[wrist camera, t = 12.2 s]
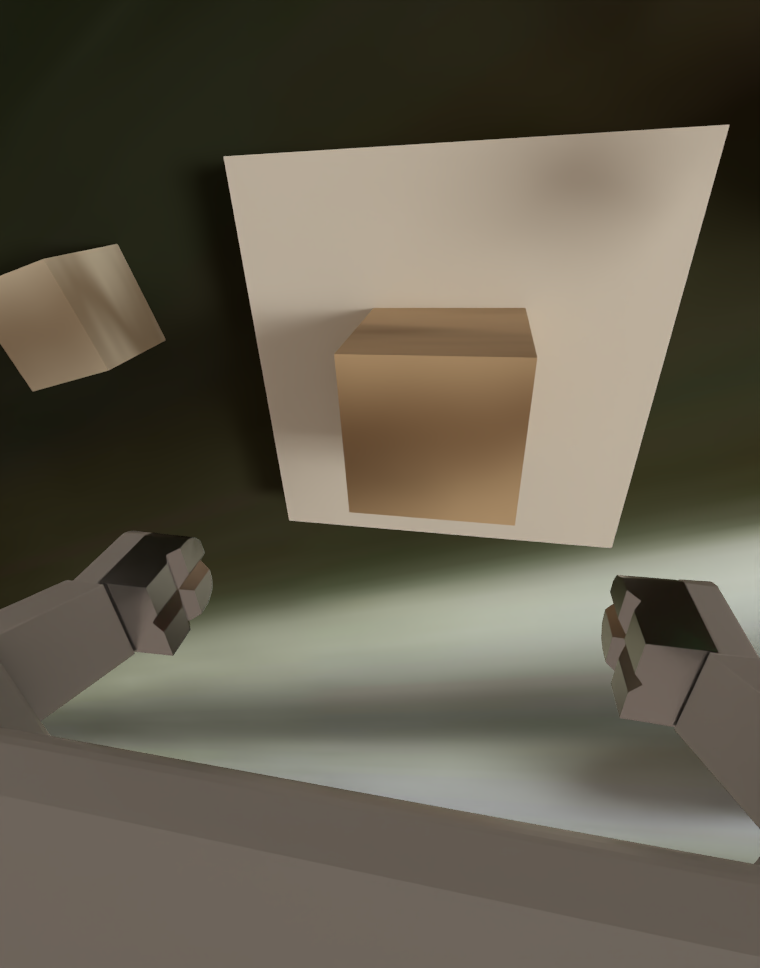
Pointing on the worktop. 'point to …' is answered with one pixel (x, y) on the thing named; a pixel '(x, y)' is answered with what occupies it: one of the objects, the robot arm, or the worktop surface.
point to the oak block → (436, 412)
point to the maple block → (74, 316)
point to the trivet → (479, 295)
